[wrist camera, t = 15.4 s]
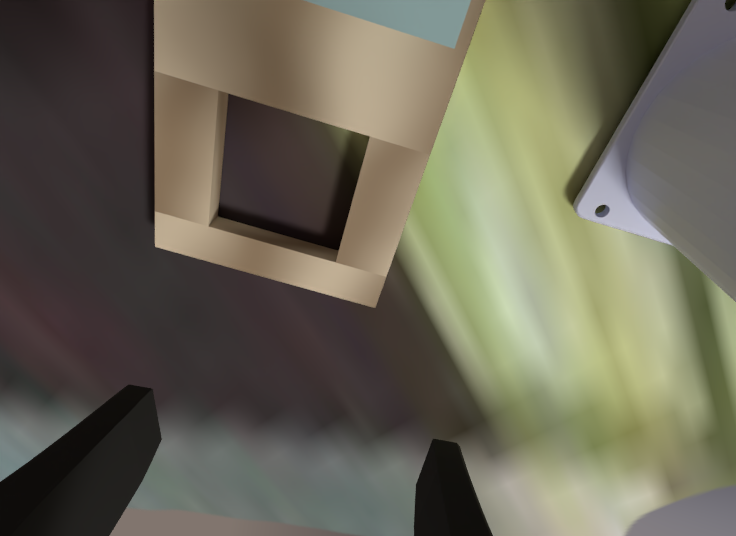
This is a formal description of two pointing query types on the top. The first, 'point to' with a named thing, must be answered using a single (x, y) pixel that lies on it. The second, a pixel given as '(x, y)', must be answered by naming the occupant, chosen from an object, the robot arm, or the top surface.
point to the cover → (409, 16)
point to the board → (303, 97)
